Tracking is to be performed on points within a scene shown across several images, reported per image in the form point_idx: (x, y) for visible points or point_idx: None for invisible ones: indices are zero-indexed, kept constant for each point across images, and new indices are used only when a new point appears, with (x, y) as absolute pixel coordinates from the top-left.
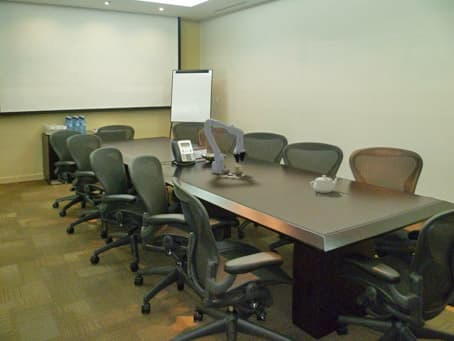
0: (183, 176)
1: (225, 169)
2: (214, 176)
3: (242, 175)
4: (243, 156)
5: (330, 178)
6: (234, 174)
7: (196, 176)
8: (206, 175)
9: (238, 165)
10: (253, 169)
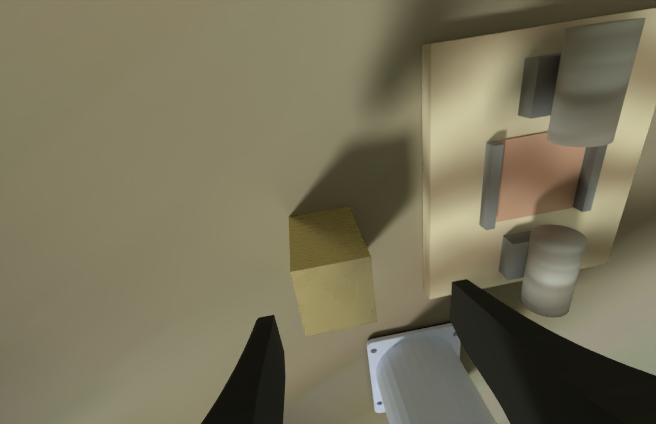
0: None
1: (569, 288)
2: None
3: (514, 50)
4: (258, 411)
5: None
6: (504, 174)
7: None
8: None
9: (317, 307)
10: (4, 235)
